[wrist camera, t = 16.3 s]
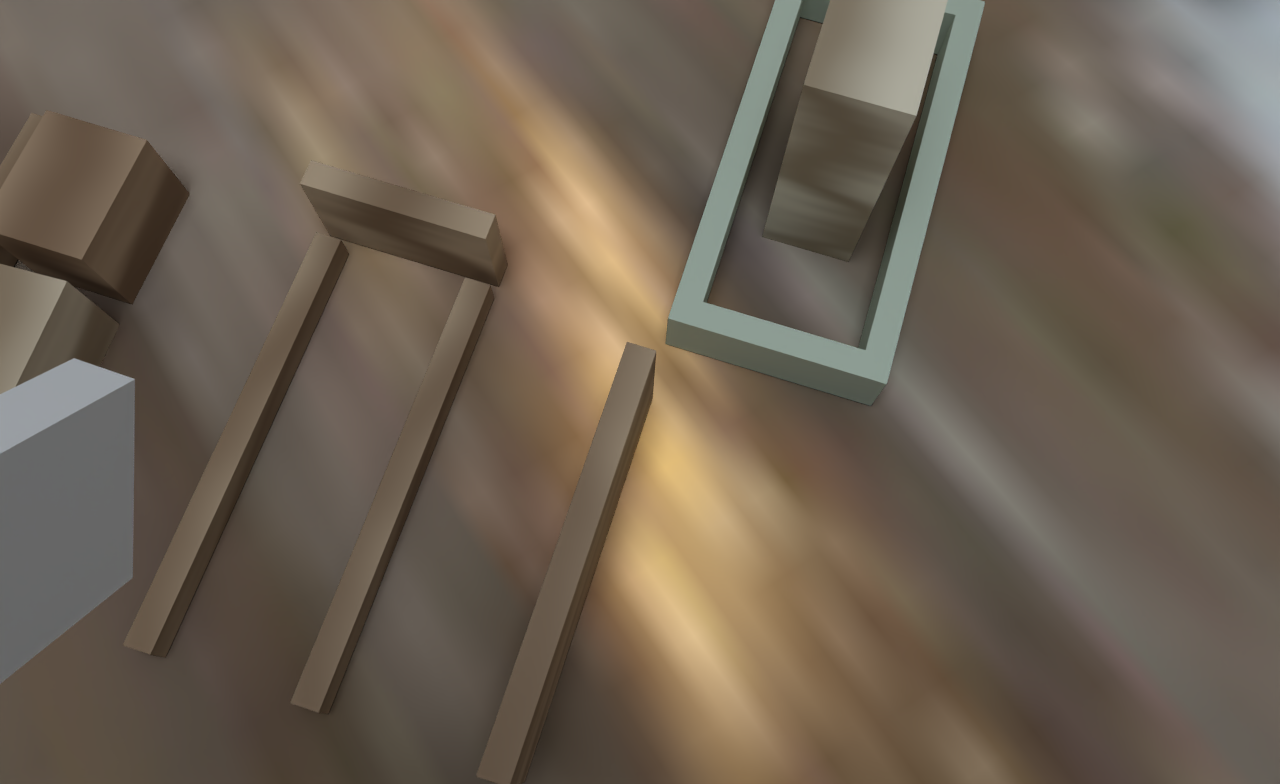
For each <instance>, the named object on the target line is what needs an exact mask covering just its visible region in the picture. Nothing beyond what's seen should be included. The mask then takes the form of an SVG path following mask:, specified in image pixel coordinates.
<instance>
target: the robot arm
mask: <svg viewBox="0 0 1280 784" xmlns="http://www.w3.org/2000/svg"><path fill="white" fill-rule="evenodd" d="M134 417H135V379H133V378H130V377H127V376H124V375H121V374H118V373H115V372H113V371H110V370H107V369H104V368H101V367H98V366H95V365H92V364H90V363H87V362H84V361H81V360H78V359H75V358H73V359H71V360H69V361H67V362H65V363H63V364H61V365H59V366H57V367H55V368H53V369H51V370H49V371H47V372H45V373H43V374H41V375H39V376H37V377H35V378H32V379H30V380H28V381H26V382H24V383H22V384H20V385H18V386H16V387H14V388H12V389H10V390H8V391H6V392H4V393H2V394H0V683H2V682H3V681H4V680H5V679H7V678H8V677H9V676H10V675H12V674H13V673H14V672H15V671H17V670H18V669H19V668H20V667H22V666H23V665H24V664H25V663H27V662H28V661H29V660H30V659H32V658H33V657H34V656H35V655H37V654H38V653H39V652H40V651H42V650H43V649H44V648H45V647H47V646H48V645H49V644H50V643H52V642H53V641H54V640H55V639H57V638H58V637H59V636H60V635H62V634H63V633H64V632H65V631H67V630H68V629H69V628H70V627H72V626H73V625H74V624H75V623H77V622H78V621H79V620H80V619H82V618H83V617H84V616H85V615H87V614H88V613H89V612H90V611H92V610H93V609H94V608H95V607H97V606H98V605H99V604H100V603H102V602H103V601H104V600H105V599H107V598H108V597H109V596H110V595H112V594H113V593H114V592H115V591H117V590H118V589H119V588H120V587H122V586H123V585H124V584H125V583H127V582H128V581H129V580H130V579H132V578H133V506H134Z"/></svg>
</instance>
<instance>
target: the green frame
mask: <svg viewBox="0 0 1280 784" xmlns="http://www.w3.org/2000/svg"><path fill="white" fill-rule="evenodd" d="M829 3H830V0H775V3H774V6H773V9H772V12H771V15H770V18H769V21H768V24H767V27H766V30H765V32H764V35H763V38H762V41H761V44H760V47H759V50H758V53H757V56H756V59H755V62H754V65H753V68H752V71H751V74H750V77H749V80H748V83H747V86H746V89H745V92H744V95H743V98H742V101H741V104H740V107H739V110H738V113H737V116H736V118H735V121H734V124H733V127H732V130H731V133H730V136H729V139H728V142H727V145H726V148H725V151H724V154H723V157H722V160H721V163H720V166H719V169H718V172H717V175H716V178H715V181H714V184H713V187H712V190H711V193H710V196H709V199H708V201H707V204H706V207H705V210H704V213H703V216H702V219H701V222H700V225H699V228H698V231H697V234H696V237H695V240H694V243H693V246H692V249H691V252H690V255H689V258H688V261H687V264H686V267H685V270H684V273H683V276H682V279H681V282H680V284H679V287H678V290H677V293H676V296H675V299H674V302H673V305H672V308H671V311H670V314H669V317H668V324H667V334H666V344H668V345H671V346H674V347H678V348H681V349H684V350H687V351H691V352H694V353H697V354H701V355H704V356H707V357H711V358H714V359H717V360H720V361H724V362H727V363H730V364H734V365H737V366H740V367H744V368H747V369H750V370H753V371H757V372H760V373H763V374H767V375H770V376H773V377H777V378H780V379H783V380H786V381H790V382H793V383H796V384H800V385H803V386H806V387H810V388H813V389H816V390H819V391H823V392H826V393H829V394H833V395H836V396H839V397H843V398H846V399H849V400H852V401H856V402H859V403H862V404H866V405H869V406H871V405H872V404H873V402H874V401H875V399H876V398H877V397H878V395H879V394H880V393H881V391H882V390H883V388H884V387H885V386H886V384H887V381H888V377H889V373H890V369H891V365H892V362H893V358H894V354H895V350H896V346H897V342H898V338H899V334H900V331H901V327H902V323H903V319H904V315H905V311H906V307H907V303H908V299H909V296H910V292H911V288H912V284H913V280H914V276H915V272H916V268H917V265H918V261H919V257H920V253H921V249H922V245H923V241H924V237H925V234H926V230H927V226H928V222H929V218H930V214H931V210H932V206H933V203H934V199H935V195H936V191H937V187H938V183H939V179H940V175H941V172H942V168H943V164H944V160H945V156H946V152H947V148H948V144H949V141H950V137H951V133H952V129H953V125H954V121H955V117H956V113H957V109H958V106H959V102H960V98H961V94H962V90H963V86H964V82H965V78H966V75H967V71H968V67H969V63H970V59H971V55H972V51H973V47H974V44H975V40H976V36H977V32H978V28H979V24H980V20H981V16H982V13H983V9H984V5H985V2H984V1H980V0H948V2H947V5H946V9H945V13H944V16H943V20H942V24H941V27H940V31H939V35H938V38H937V42H936V46H935V49H934V54H938V55H937V58H936V62H935V66H934V70H933V73H932V77H931V81H930V84H929V88H928V92H927V95H926V99H925V103H924V107H923V110H922V114H921V118H920V121H919V125H918V129H917V132H916V136H915V140H914V144H913V147H912V151H911V155H910V158H909V162H908V166H907V169H906V173H905V177H904V180H903V184H902V188H901V192H900V195H899V199H898V203H897V206H896V210H895V214H894V217H893V221H892V225H891V229H890V232H889V236H888V240H887V243H886V247H885V251H884V254H883V258H882V262H881V265H880V269H879V273H878V277H877V280H876V284H875V288H874V291H873V295H872V299H871V302H870V306H869V310H868V314H867V317H866V321H865V325H864V328H863V332H862V336H861V339H860V343H859V347H858V348H856V347H853V346H849V345H846V344H843V343H839V342H836V341H833V340H829V339H826V338H823V337H819V336H816V335H813V334H809V333H806V332H803V331H799V330H796V329H792V328H789V327H786V326H782V325H779V324H776V323H772V322H769V321H766V320H762V319H759V318H756V317H752V316H749V315H746V314H742V313H739V312H735V311H732V310H729V309H725V308H722V307H719V306H715V305H712V304H709V303H707V300H708V297H709V294H710V291H711V288H712V285H713V282H714V279H715V276H716V273H717V269H718V266H719V263H720V260H721V257H722V254H723V251H724V248H725V245H726V242H727V239H728V236H729V233H730V230H731V227H732V223H733V220H734V217H735V214H736V211H737V208H738V205H739V202H740V199H741V196H742V193H743V190H744V187H745V184H746V181H747V177H748V174H749V171H750V168H751V165H752V162H753V159H754V156H755V153H756V150H757V147H758V144H759V141H760V138H761V135H762V131H763V128H764V125H765V122H766V119H767V116H768V113H769V110H770V107H771V104H772V101H773V98H774V95H775V92H776V88H777V85H778V82H779V79H780V76H781V73H782V70H783V67H784V64H785V61H786V58H787V55H788V52H789V49H790V46H791V42H792V39H793V36H794V33H795V30H796V27H797V24H798V21H799V18H800V17H802V18H805V19H809V20H813V21H816V22H820V23H823V22H824V18H825V15H826V12H827V9H828V6H829Z"/></svg>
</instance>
